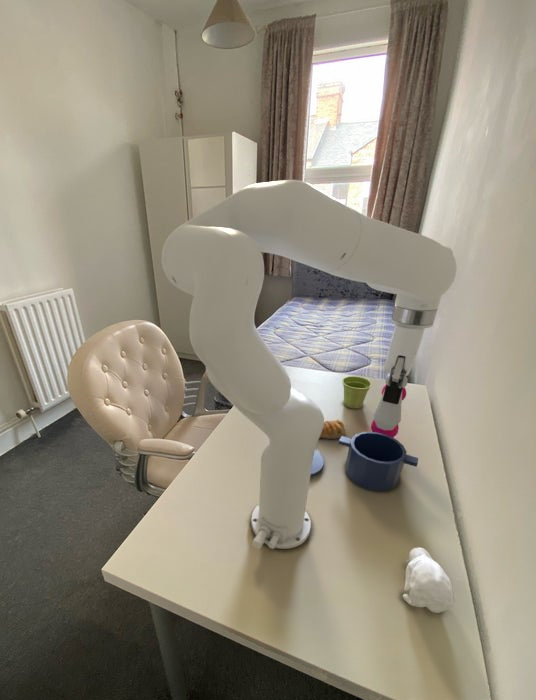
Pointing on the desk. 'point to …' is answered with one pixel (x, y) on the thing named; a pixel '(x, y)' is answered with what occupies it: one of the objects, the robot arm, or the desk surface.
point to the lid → (317, 463)
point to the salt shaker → (388, 411)
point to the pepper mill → (387, 432)
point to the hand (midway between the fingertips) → (392, 396)
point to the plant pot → (355, 391)
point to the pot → (375, 460)
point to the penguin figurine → (427, 583)
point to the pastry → (333, 429)
